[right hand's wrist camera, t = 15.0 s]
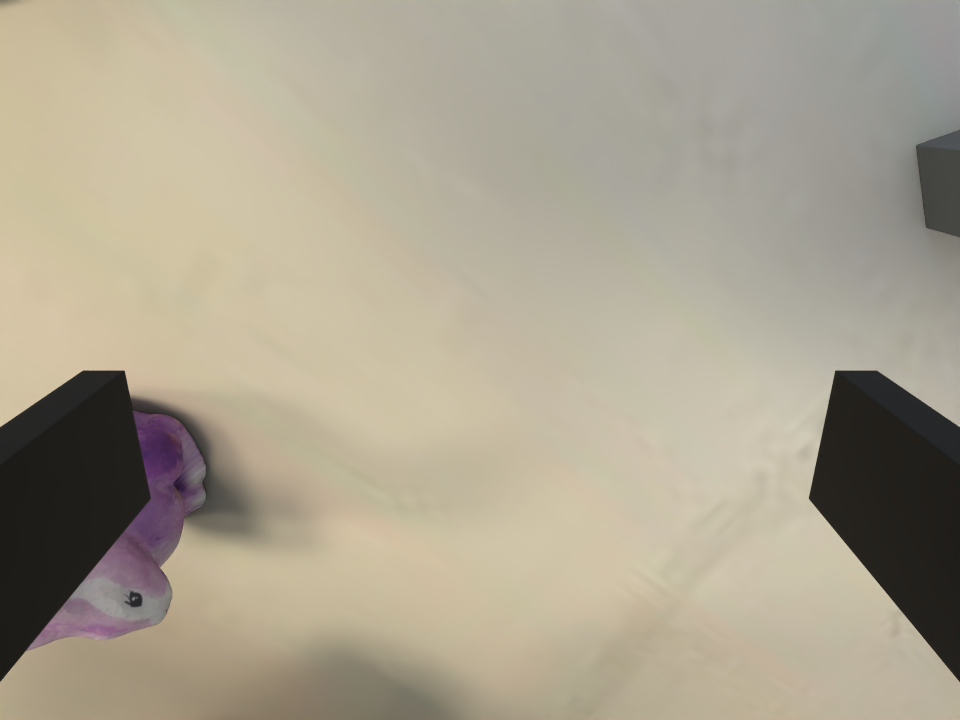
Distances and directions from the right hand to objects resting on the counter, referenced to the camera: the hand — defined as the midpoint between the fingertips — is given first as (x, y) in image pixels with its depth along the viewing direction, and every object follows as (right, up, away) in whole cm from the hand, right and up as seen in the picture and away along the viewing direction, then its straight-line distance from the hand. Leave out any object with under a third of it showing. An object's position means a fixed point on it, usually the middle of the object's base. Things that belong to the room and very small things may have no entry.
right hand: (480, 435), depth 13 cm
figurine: (-22, -5, +33) cm, 40 cm away
